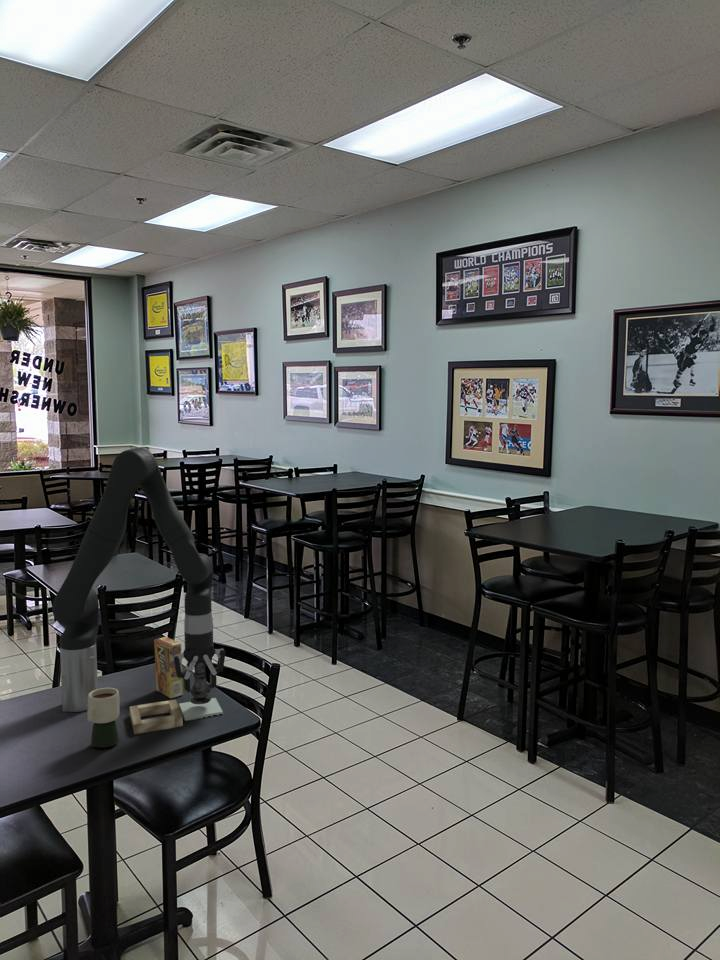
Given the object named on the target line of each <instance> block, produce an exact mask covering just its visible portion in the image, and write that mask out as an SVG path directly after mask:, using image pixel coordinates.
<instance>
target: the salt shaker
mask: <svg viewBox="0 0 720 960" xmlns="http://www.w3.org/2000/svg"><path fill="white" fill-rule="evenodd" d="M193 670H194V673H192V674H193V675H192V676H194V679H193V680H194V682H193V685H190V693H191V695H192V697H193V698H191V700H190V702H191V703H193V704H205V703H208V702H209V701H210V700H211V697H210V696H209V695H210V693H211V685H210V683H209V684H208V683H207V674H208V673H207V672H206V666H204V664H203V663H199V664H197V666H196V667H194V668H193Z"/></svg>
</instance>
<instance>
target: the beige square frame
mask: <svg viewBox="0 0 720 960" xmlns="http://www.w3.org/2000/svg"><path fill="white" fill-rule="evenodd" d="M167 713H169V715H166V716H160V717H153V718H146V719H141V718H142V717H148V716H155V715H161V714H167ZM129 717H130V718H129V719H130V722H131V728H132V730H133V731H132V732H133V734H134V735H138V734H143V733H144V734H145V733H150V732H156V731H161V730H162V731H163V730H169V729H173V728H181V727H183V726H184V724H183V723H184V722H183V720H184V717H183V715H182V712H181V710H180V707H179V703H178V702H177V699H175V698H174V699H170V700H165V701H163V700H162V701H155V702H150V703H144V704H137V705H131V706H129Z"/></svg>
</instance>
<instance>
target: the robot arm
mask: <svg viewBox="0 0 720 960" xmlns="http://www.w3.org/2000/svg"><path fill="white" fill-rule="evenodd" d="M138 488H140V489H141V491H143V493H144V495H145V497H146V498H147V501H148V503H149V506H150V509H151V512H152V515H153V516H152V517H153V519H154V521H155V522H154V523H155V525H156V527H157V530H158V532H159V534H160V536H161V537H162V539H163V541H164V542H165V544H166V545H167V547H168V549H169V550H170V551H171V554H172V557H173V560H174V564H175V566H176V568H177V570H178V573H179V574H180V576H181V577H182V579H183V580H185V582H187V588H186V589H187V591H186V593H185V594H184V620H183V627H184V629H183V631H184V650H183V652H181V654H179V655H177V654H174V655H173V660H174V665H175V670H176V674H177V677H178V678H182V680H183V690H185V692H186V693H191V691H190V687H191V679H190V675H191V673H192V672H193V671H194V667H196V666H197V664H199V663H203V664H204V666H205V667H206V666H207V667H208V670H209V671H210V673H209V685H211V689H213V690H214V689H215V687H216V686H217V683H218V682H217V674H218V673H222V672H223V671H224V666H225V660H226V659H225V657H226V651H225V648H223V647H220V648H219V649H218V648H215V647H214V646H215V645H214V618H213V612H212V611H213V610H212V607H213V606H212V586H213V579H214V565H213V561H212V559H211V558H210V556H208V555H207V554H205V553H201V552H199V551H198V549H197V547H196V546H195V545H196V544H195V543H196V542H195V540H196V539H195V537H194V534H193V532H192V531H191V529H190V527H189V526H188V524H187V522H186V521H185V519H184V518H183V516H182V514H181V513H180V511H179V509H178V507H177V505H176V503H175V502H174V499H173V497H172V495H171V492H170V491H169V488H168V487H167V484H166V482H165V480H164V477H163V474H162V472H161V469H160V467H159V465H158V461H157V459H156V457H155V456H154V454H153V453H152V452H151V451H150V450H148V449H146V448H144V447H143V448H142V447H136V448H135V447H134V448H129V449H125V450H123V451H121V452H120V453H118V454H117V455H116V457H115V458H114V460H113V463H112V464H111V469H110V472H109V474H108V478H107V482H106V485H105V488H104V491H103V493H102V496H101V498H100V500H99V503H97V504H98V505H97V507H96V508H95V511H94V514H93V515H92V517H91V520H90V522H89V524H88V526H87V529H86V531H85V533H84V535H83V538H82V542H81V543H80V546H79V548H78V550H77V553H76V555H75V558H74V560H73V562H72V565H71V567H70V570H69V572H68V574H67V575H66V577H65V579H64V581H63V583H62V584H61V586H60V588H59V590H58V592H57V593H56V595H55V597H54V599H53V602H52V614H53V618H54V619H55V621H57V622H58V623H60V624H61V625H65V629H64V630H63V632H62V633H61V635H60V637H59V651H60V652H59V653H60V654H59V655H60V681H61V684H60V685H61V688H60V689H61V708H62V711H61V712H63V713H65V712H70V713H74V712H75V713H78V712H84V711H88V694H89V693H90V692H91V691H93V690H96V689H99V684H98V683H99V682H98V659H97V656H98V655H97V636H98V633H99V627H100V626H99V625H100V623H99V621H100V618H99V617H100V606H99V604H100V603H99V598H98V594H97V592H96V591H95V590H94V589H93V586H94V584H95V583H96V580H97V579H98V578H99V576H100V575H101V574H102V572H103V571H104V570H105V569H106V568H107V567H108V565H109V564H110V563H111V562H112V560H113V558H114V557H115V555H116V554H117V551H118V550H119V547H120V545H121V543H122V540H123V538H124V535H125V533H126V529H127V524H128V523H127V520H128V511H129V506H130V505H131V504H130V503H131V501H132V500H133V497H134V495H135V494H136V491H137V489H138ZM214 655H216V657H217V664H216V665H217V666H216V667H215V666H214V665H213V663H212V661H211V660H212V659H213V657H214ZM183 658H184V660H186V665H185V669H184V670H183V671H182V672H181V667H180V663H181V662H182V663H183ZM211 689H210V690H211Z"/></svg>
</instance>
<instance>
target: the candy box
mask: <svg viewBox="0 0 720 960" xmlns="http://www.w3.org/2000/svg"><path fill="white" fill-rule="evenodd" d="M153 644H154V646H153V647H154V667H155V689H156V691H157V692H159V693H161V694H162V695H164V696H166V697H168V698H169V699H175V698H177V697H180V696H183V695H184V691H183V690H184V683H183V678H178V677H177V674H176V670H175V665H174V660H173V655H174V654H177V655H179V654H182V643H181V642H178V641H176V640H174V639H172V638H170V637H168V636H163V637H160V638H156V639H154V643H153ZM182 663H183V661H182V662H181V663H180V667H181V672H183V664H182Z"/></svg>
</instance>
